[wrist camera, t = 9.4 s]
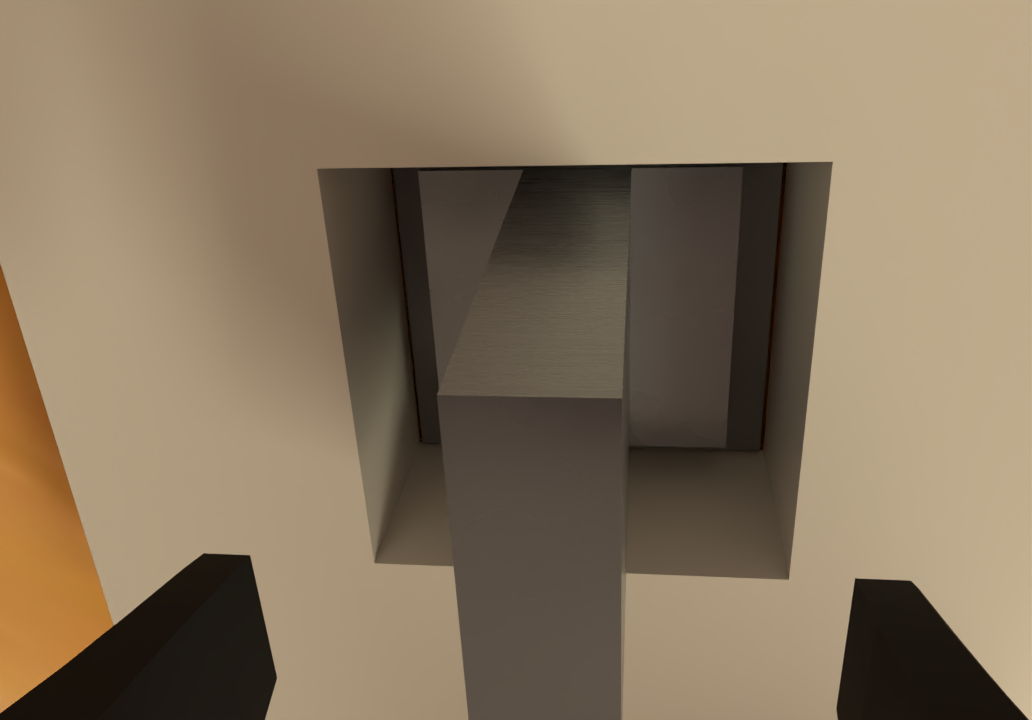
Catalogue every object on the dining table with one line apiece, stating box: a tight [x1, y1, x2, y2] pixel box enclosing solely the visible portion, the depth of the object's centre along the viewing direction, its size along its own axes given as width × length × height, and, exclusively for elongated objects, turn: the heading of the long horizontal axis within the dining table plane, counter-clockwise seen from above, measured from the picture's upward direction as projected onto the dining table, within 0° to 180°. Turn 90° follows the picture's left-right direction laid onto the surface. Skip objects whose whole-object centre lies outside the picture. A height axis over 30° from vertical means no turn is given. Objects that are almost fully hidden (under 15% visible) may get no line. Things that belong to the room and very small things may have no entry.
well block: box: [0, 0, 1032, 720], centre depth 19 cm, size 20×20×4 cm
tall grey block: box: [418, 163, 743, 720], centre depth 16 cm, size 6×6×10 cm
